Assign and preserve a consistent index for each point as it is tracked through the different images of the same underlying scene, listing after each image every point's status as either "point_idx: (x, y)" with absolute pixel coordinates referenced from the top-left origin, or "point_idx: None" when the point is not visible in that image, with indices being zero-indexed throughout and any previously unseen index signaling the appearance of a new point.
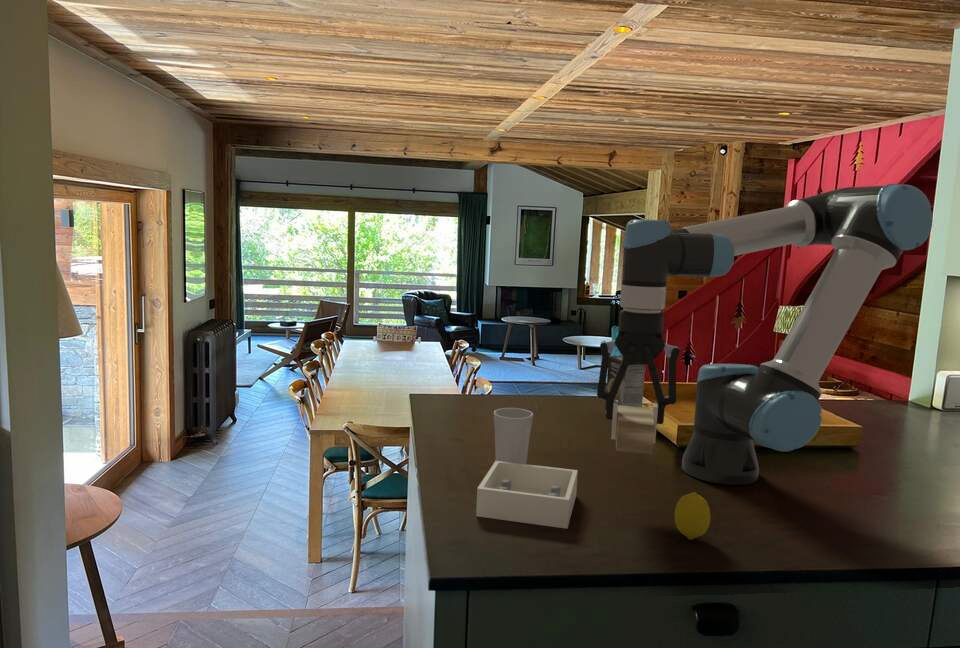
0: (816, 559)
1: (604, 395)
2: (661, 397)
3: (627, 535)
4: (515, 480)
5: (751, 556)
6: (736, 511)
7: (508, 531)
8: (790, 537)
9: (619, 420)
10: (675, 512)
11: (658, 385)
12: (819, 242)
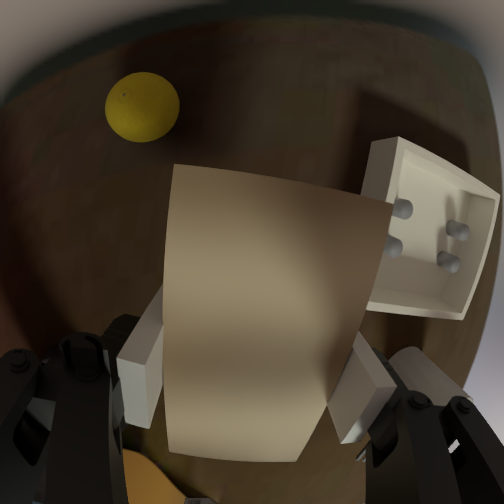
0: (23, 109)
1: (440, 418)
2: (70, 403)
3: (270, 118)
4: (428, 299)
5: (88, 85)
6: (63, 252)
7: (443, 139)
8: (24, 168)
9: (380, 237)
10: (176, 103)
11: (61, 492)
12: None
